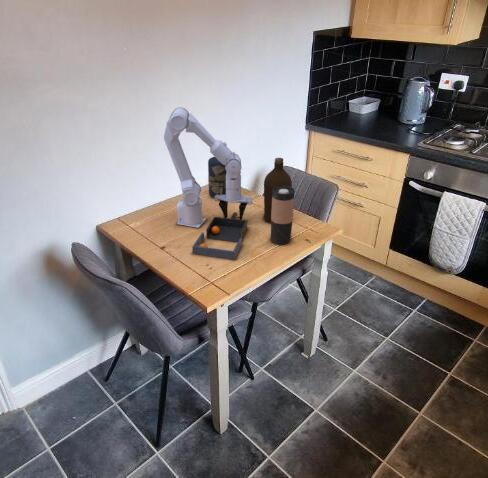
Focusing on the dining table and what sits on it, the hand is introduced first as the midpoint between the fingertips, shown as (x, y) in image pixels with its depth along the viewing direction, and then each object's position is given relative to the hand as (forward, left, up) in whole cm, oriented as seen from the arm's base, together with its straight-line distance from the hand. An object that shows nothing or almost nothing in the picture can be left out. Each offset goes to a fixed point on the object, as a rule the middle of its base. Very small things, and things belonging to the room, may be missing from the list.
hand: (233, 218), depth 170 cm
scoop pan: (+1, -6, -1) cm, 6 cm away
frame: (+2, -21, -2) cm, 21 cm away
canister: (-15, +22, -2) cm, 27 cm away
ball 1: (-2, -24, 0) cm, 25 cm away
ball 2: (-3, -12, 0) cm, 12 cm away
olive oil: (+15, +8, -2) cm, 17 cm away
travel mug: (+21, -8, -2) cm, 22 cm away
